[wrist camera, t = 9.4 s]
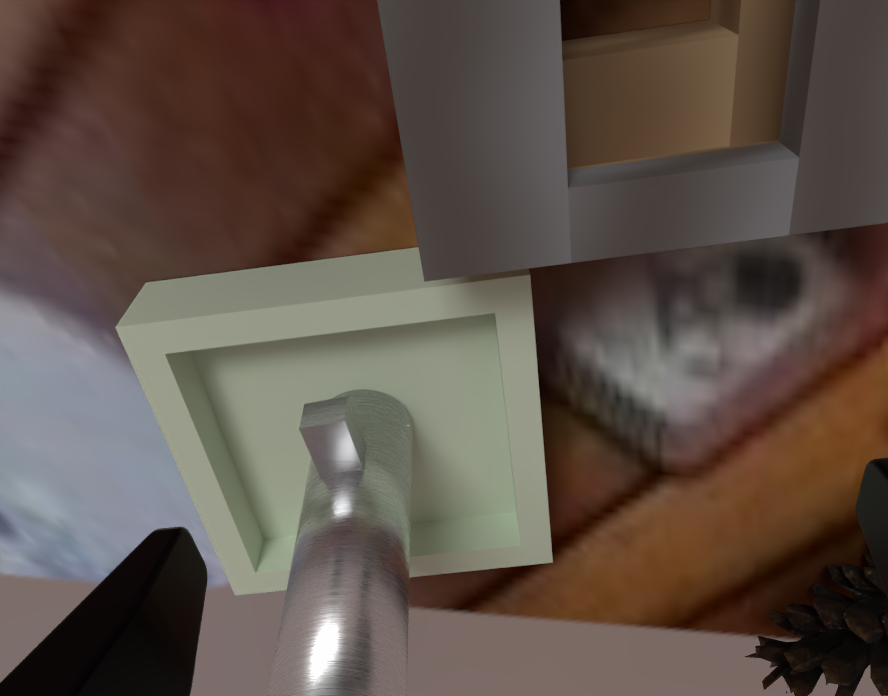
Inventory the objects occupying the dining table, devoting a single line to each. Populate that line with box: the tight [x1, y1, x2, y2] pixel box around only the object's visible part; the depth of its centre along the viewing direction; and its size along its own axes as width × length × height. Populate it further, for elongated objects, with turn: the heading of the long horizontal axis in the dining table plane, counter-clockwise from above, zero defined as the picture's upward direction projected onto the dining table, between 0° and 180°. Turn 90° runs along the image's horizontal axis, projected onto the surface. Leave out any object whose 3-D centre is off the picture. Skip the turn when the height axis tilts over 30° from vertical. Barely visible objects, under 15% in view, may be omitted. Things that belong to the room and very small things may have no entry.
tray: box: [115, 247, 553, 595], centre depth 23 cm, size 11×11×2 cm
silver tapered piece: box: [267, 389, 413, 696], centre depth 19 cm, size 6×3×10 cm, turn 12°
